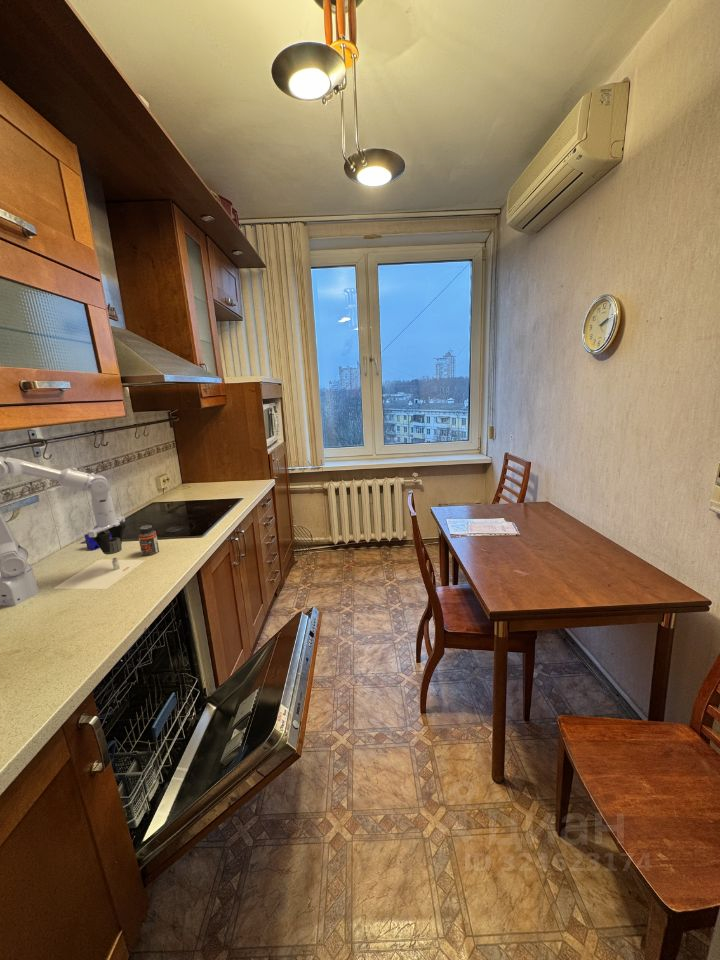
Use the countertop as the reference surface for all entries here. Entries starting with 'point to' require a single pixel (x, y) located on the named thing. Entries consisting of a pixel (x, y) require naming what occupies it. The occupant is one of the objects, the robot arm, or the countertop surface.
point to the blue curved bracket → (92, 542)
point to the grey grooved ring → (114, 545)
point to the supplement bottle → (148, 541)
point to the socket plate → (100, 574)
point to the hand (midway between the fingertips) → (112, 548)
